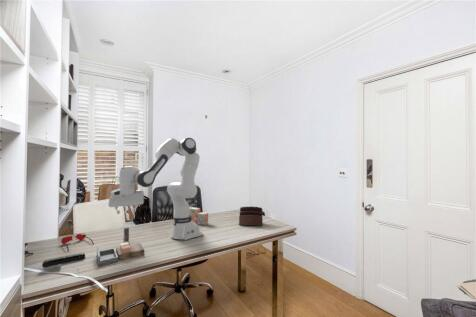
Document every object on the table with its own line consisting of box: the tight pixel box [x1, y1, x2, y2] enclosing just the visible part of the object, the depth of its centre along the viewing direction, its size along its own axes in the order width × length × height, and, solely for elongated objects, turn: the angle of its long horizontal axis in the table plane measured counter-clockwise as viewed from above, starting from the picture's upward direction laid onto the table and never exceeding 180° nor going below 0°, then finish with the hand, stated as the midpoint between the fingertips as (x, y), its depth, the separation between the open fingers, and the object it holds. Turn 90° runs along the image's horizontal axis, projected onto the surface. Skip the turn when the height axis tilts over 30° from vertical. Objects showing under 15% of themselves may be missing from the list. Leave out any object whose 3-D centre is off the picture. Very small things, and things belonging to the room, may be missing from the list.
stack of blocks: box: [189, 206, 209, 226], centre depth 197 cm, size 21×6×12 cm, turn 56°
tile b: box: [122, 244, 131, 253], centre depth 126 cm, size 4×4×2 cm
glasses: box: [60, 232, 95, 252], centre depth 144 cm, size 14×16×5 cm
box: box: [96, 246, 119, 267], centre depth 123 cm, size 9×15×5 cm, turn 35°
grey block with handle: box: [122, 226, 131, 245], centre depth 144 cm, size 2×14×11 cm, turn 35°
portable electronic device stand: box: [41, 252, 86, 268], centre depth 119 cm, size 18×3×3 cm, turn 127°
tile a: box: [119, 242, 129, 250], centre depth 131 cm, size 4×4×2 cm
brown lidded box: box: [238, 206, 264, 227], centre depth 194 cm, size 10×20×14 cm, turn 84°
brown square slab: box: [115, 242, 145, 261], centre depth 130 cm, size 13×12×3 cm
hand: (126, 212), depth 144 cm, fingers open, 8 cm apart
